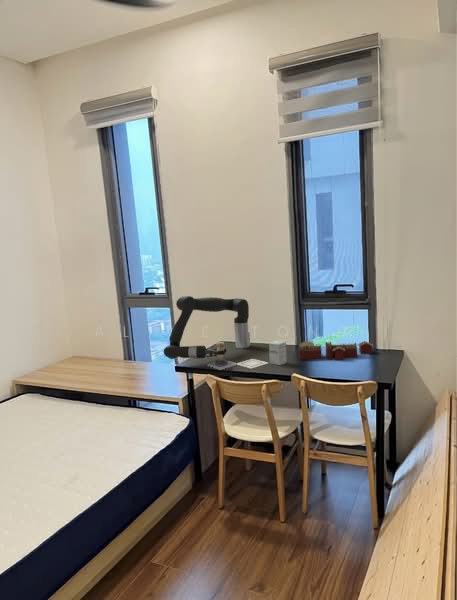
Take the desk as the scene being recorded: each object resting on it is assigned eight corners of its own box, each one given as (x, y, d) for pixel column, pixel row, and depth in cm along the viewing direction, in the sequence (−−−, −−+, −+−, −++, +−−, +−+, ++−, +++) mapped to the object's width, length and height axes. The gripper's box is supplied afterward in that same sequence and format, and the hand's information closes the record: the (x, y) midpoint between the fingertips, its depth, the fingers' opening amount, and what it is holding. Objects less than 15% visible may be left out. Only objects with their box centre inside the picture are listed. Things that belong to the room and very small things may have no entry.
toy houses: (299, 361, 266) (298, 345, 265) (298, 352, 286) (297, 337, 285) (378, 359, 261) (377, 342, 259) (370, 350, 281) (370, 334, 280)
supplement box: (269, 363, 265) (268, 342, 264) (277, 360, 270) (276, 340, 269) (279, 365, 260) (278, 344, 258) (287, 362, 265) (286, 341, 263)
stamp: (222, 361, 270) (220, 341, 268) (227, 362, 266) (226, 342, 264) (215, 363, 267) (213, 343, 265) (220, 364, 263) (219, 344, 261)
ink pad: (223, 361, 275) (223, 359, 275) (236, 365, 266) (235, 362, 266) (207, 366, 268) (207, 363, 268) (220, 370, 258) (220, 367, 258)
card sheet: (252, 359, 277) (252, 358, 277) (268, 363, 266) (268, 362, 266) (235, 364, 268) (235, 363, 268) (251, 368, 257) (250, 368, 257)
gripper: (193, 348, 261) (222, 348, 258) (199, 343, 275) (227, 342, 271) (194, 361, 262) (223, 361, 259) (200, 354, 276) (228, 354, 272)
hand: (225, 351), depth 265 cm, fingers closed on stamp, 4 cm apart
